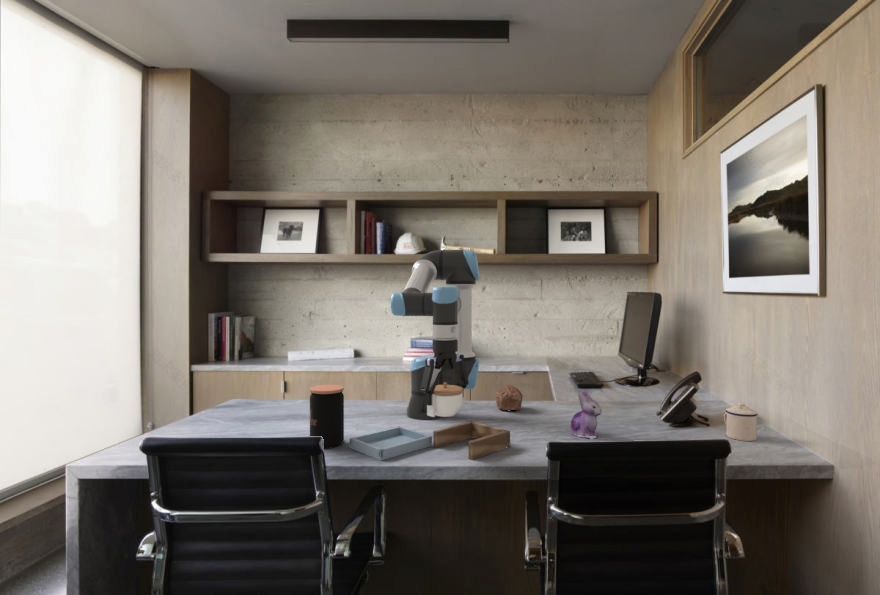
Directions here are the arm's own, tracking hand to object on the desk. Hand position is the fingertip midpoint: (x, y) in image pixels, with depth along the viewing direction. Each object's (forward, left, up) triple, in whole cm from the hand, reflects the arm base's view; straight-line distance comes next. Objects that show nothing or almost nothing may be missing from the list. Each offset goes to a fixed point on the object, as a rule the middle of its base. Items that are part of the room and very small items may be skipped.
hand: (445, 412), depth 148 cm
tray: (-17, -7, -13) cm, 22 cm away
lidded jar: (0, 0, -1) cm, 1 cm away
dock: (0, +11, -13) cm, 17 cm away
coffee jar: (-34, -20, -13) cm, 41 cm away
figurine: (+18, +49, -13) cm, 54 cm away
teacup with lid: (+54, +85, -13) cm, 102 cm away
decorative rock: (-23, +59, -13) cm, 65 cm away
